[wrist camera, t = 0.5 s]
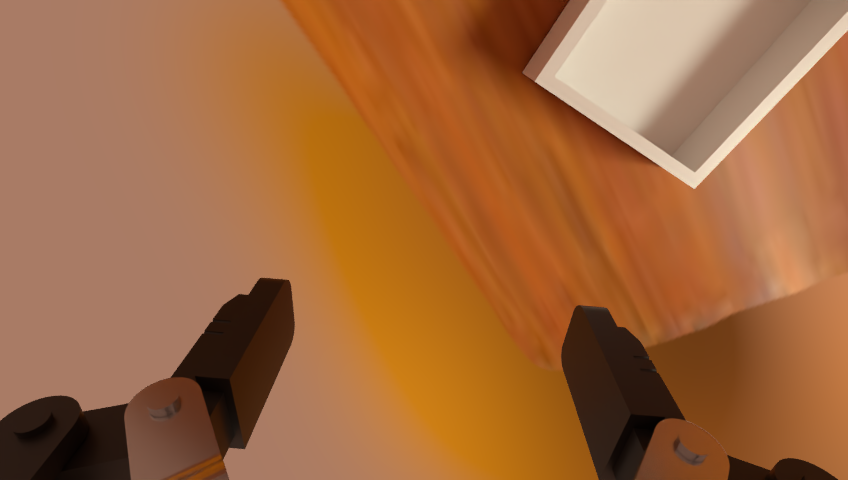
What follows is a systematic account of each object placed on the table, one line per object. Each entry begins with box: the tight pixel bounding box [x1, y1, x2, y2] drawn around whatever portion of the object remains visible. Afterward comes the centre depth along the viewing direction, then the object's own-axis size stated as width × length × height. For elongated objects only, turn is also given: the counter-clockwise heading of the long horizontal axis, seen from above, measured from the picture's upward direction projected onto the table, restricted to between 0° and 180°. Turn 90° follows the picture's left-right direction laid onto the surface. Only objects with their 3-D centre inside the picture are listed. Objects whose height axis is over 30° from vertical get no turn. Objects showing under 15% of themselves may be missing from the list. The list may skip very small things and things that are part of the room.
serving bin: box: [522, 0, 848, 189], centre depth 31 cm, size 16×16×5 cm
